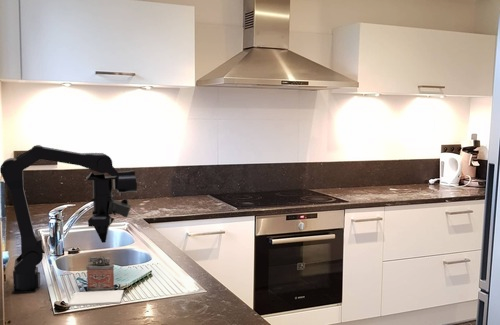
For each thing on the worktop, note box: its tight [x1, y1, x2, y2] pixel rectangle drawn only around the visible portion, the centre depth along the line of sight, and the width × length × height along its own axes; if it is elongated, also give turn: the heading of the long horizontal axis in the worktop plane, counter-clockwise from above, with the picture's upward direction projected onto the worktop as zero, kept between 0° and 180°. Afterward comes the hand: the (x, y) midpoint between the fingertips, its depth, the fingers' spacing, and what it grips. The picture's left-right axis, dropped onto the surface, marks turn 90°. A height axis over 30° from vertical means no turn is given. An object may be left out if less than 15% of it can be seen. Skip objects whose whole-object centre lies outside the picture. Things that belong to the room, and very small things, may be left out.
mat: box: [67, 289, 125, 307], centre depth 139 cm, size 14×9×1 cm, turn 99°
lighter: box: [86, 255, 115, 292], centre depth 146 cm, size 8×3×10 cm, turn 92°
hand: (103, 242), depth 154 cm, fingers closed
